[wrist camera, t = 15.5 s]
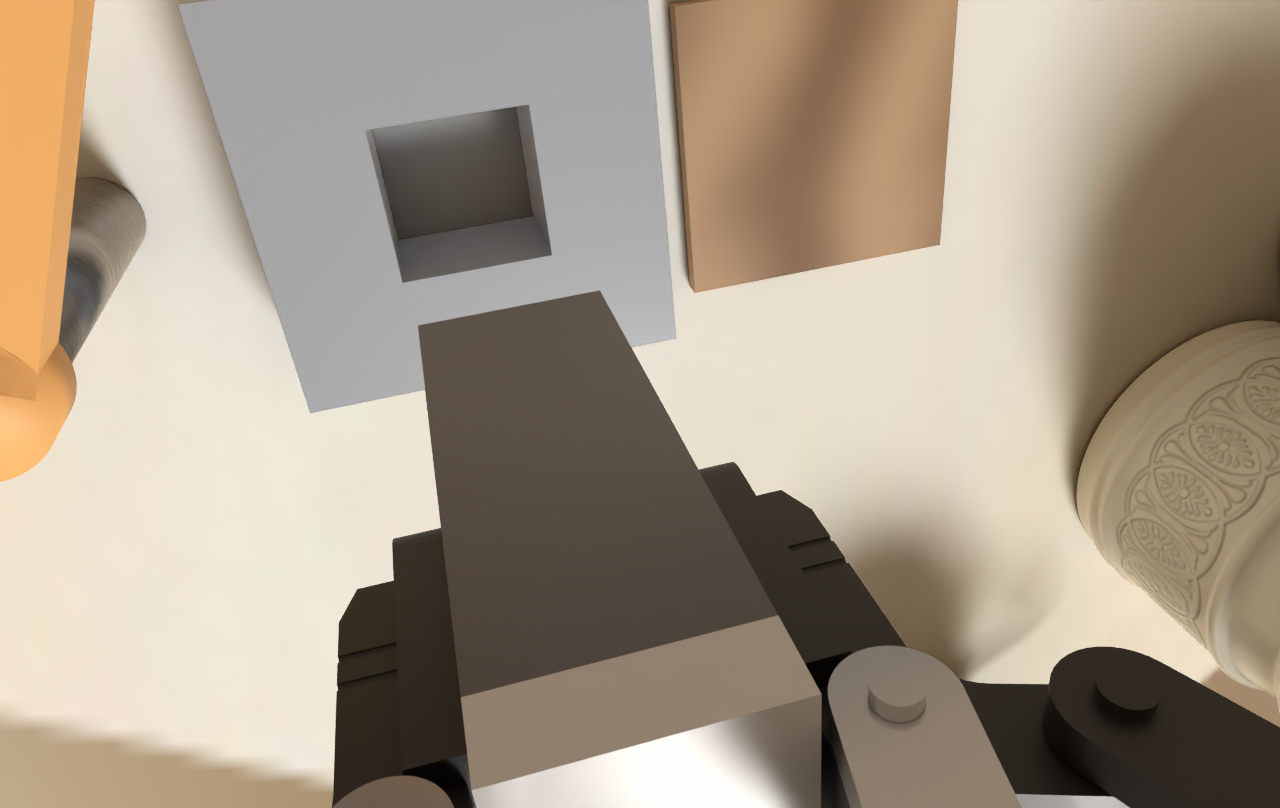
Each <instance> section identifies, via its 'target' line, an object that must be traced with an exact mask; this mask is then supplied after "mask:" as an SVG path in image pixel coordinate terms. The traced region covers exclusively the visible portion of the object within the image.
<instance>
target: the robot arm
mask: <svg viewBox="0 0 1280 808" xmlns="http://www.w3.org/2000/svg"><path fill="white" fill-rule="evenodd" d="M699 472H700V474H701V475H702V477H703V479H704V481H705V483H706V485H707V486H708V488H709V490H710V492H711V494H712V495H713V497H714V499H715V501H716V503H717V505H718V506H719V508H720V510H721V512H722V514H723V516H724V517H725V519H726V521H727V523H728V525H729V526H730V528H731V530H732V532H733V534H734V536H735V537H736V539H737V541H738V543H739V545H740V546H741V548H742V550H743V552H744V554H745V556H746V557H747V559H748V561H749V563H750V565H751V566H752V568H753V570H754V572H755V574H756V576H757V577H758V579H759V581H760V583H761V585H762V587H763V588H764V590H765V592H766V594H767V596H768V597H769V599H770V601H771V603H772V605H773V607H774V608H775V610H776V612H777V614H778V616H779V617H780V619H781V621H782V623H783V625H784V627H785V628H786V630H787V632H788V634H789V636H790V638H791V639H792V641H793V643H794V645H795V647H796V648H797V650H798V652H799V654H800V656H801V658H802V659H803V661H804V663H805V665H806V667H807V668H808V670H809V672H810V674H811V676H812V678H813V679H814V681H815V683H816V685H817V687H818V689H819V690H820V692H821V694H822V706H821V808H1280V727H1278V726H1276V725H1274V724H1272V723H1270V722H1269V721H1267V720H1265V719H1263V718H1262V717H1260V716H1257V715H1256V714H1254V713H1252V712H1251V711H1249V710H1247V709H1245V708H1243V707H1242V706H1239V705H1238V704H1236V703H1234V702H1232V701H1231V700H1229V699H1227V698H1225V697H1223V696H1221V695H1220V694H1218V693H1216V692H1214V691H1212V690H1211V689H1209V688H1207V687H1205V686H1203V685H1201V684H1200V683H1198V682H1196V681H1194V680H1192V679H1191V678H1189V677H1187V676H1185V675H1183V674H1181V673H1180V672H1178V671H1176V670H1174V669H1172V668H1171V667H1169V666H1167V665H1165V664H1163V663H1161V662H1159V661H1157V660H1155V659H1153V658H1151V657H1149V656H1146V655H1144V654H1141V653H1138V652H1135V651H1131V650H1127V649H1122V648H1115V647H1091V648H1085V649H1081V650H1077V651H1075V652H1073V653H1070V654H1068V655H1067V656H1065V657H1064V658H1062V659H1061V660H1060V661H1059V662H1058V663H1057V664H1056V666H1055V667H1054V669H1053V671H1052V673H1051V676H1050V682H1049V684H987V683H976V682H971V681H965V680H962V679H959V678H958V677H957V676H956V675H955V674H954V673H953V671H952V670H951V669H949V668H948V667H947V666H946V665H945V664H944V663H942V662H941V661H939V660H937V659H936V658H934V657H932V656H930V655H928V654H926V653H924V652H921V651H918V650H915V649H912V648H907V646H906V645H905V644H904V643H903V641H902V640H901V638H900V637H899V635H898V634H897V633H896V631H895V630H894V628H893V627H892V625H891V624H890V622H889V621H888V619H887V618H886V617H885V615H884V614H883V612H882V611H881V609H880V608H879V606H878V605H877V603H876V602H875V601H874V599H873V598H872V596H871V595H870V593H869V592H868V590H867V589H866V587H865V586H864V585H863V583H862V582H861V580H860V579H859V577H858V576H857V574H856V573H855V572H854V570H853V569H852V567H851V566H850V564H849V563H846V561H845V557H844V556H843V554H842V553H841V551H840V550H839V548H838V547H837V545H836V544H835V542H834V541H831V539H830V535H829V534H828V532H827V531H826V529H825V528H824V526H823V525H822V524H821V522H820V521H819V519H818V518H817V516H816V515H815V513H814V512H813V511H812V509H810V508H809V507H807V506H805V505H804V504H802V503H801V502H799V501H798V500H796V499H794V498H793V497H791V496H790V495H788V494H786V493H785V492H783V491H782V490H779V491H775V492H771V493H767V494H762V495H758V496H756V495H755V493H754V491H753V490H752V488H751V487H750V485H749V483H748V482H747V480H746V478H745V477H744V475H743V474H742V472H741V470H740V469H739V467H738V466H737V465H736V464H735V463H734V462H730V463H726V464H722V465H717V466H713V467H708V468H704V469H700V470H699ZM392 546H393V571H394V581H391V582H386V583H382V584H378V585H374V586H369V587H365V588H361V589H357V591H356V593H355V595H354V596H353V598H352V600H351V602H350V604H349V605H348V607H347V609H346V611H345V613H344V615H343V616H342V618H341V620H340V622H339V640H338V658H339V663H338V671H337V686H338V691H337V702H336V732H335V763H334V795H333V804H332V808H477V807H476V804H475V801H474V797H473V794H472V790H471V782H470V773H469V764H468V756H467V747H466V738H465V730H464V721H463V712H462V704H461V695H460V686H459V678H458V669H457V661H456V652H455V643H454V635H453V626H452V617H451V609H450V600H449V591H448V583H447V574H446V565H445V557H444V548H443V539H442V531H441V528H439V529H435V530H430V531H426V532H422V533H417V534H413V535H408V536H404V537H400V538H395V539H393V543H392Z"/></svg>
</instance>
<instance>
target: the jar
mask: <svg viewBox="0 0 1280 808" xmlns="http://www.w3.org/2000/svg"><path fill="white" fill-rule="evenodd" d="M1076 499H1077V509H1078V514H1079V518H1080V521H1081V523H1082V525H1083V528H1084V529H1085V531H1086V533H1087V534H1088V536H1089V537H1090V538H1091V539H1092V540H1093V542H1094V544H1095V546H1096V548H1097V550H1098V551H1099V553H1100V554H1101V556H1102V557H1103V558H1104V559H1105V560H1106V562H1108V563H1109V564H1110V565H1111V566H1112V567H1113V568H1115V570H1116V571H1117V572H1118V573H1119V574H1120V575H1121V576H1122V577H1123V578H1125V579H1126V580H1127V581H1129V582H1130V583H1132V584H1134V585H1136V586H1138V587H1140V588H1141V589H1142V590H1143V591H1144V592H1145V593H1147V594H1148V595H1149V596H1150V597H1151V598H1152V599H1153V600H1154V601H1155V602H1156V603H1157V604H1158V605H1159V606H1160V607H1162V608H1163V609H1164V610H1165V611H1166V612H1167V613H1168V614H1169V615H1170V616H1171V617H1172V618H1173V619H1174V620H1175V621H1177V622H1178V623H1179V624H1180V625H1181V626H1182V627H1183V628H1184V629H1185V630H1186V631H1187V632H1188V633H1189V634H1190V635H1191V636H1193V637H1194V638H1195V639H1196V640H1197V641H1198V642H1199V643H1200V644H1201V645H1202V646H1203V647H1204V648H1205V649H1206V650H1208V651H1209V652H1210V653H1211V654H1212V656H1213V658H1214V660H1215V661H1216V663H1217V665H1218V666H1219V667H1220V668H1221V670H1222V671H1223V672H1224V673H1226V674H1227V675H1228V676H1229V677H1230V678H1232V679H1233V680H1235V681H1237V682H1239V683H1241V684H1243V685H1245V686H1248V687H1251V688H1255V689H1260V690H1263V691H1264V692H1265V693H1267V694H1268V695H1269V696H1270V697H1272V698H1273V699H1274V700H1275V701H1277V702H1278V707H1279V712H1280V323H1279V322H1274V321H1264V320H1255V321H1244V322H1238V323H1233V324H1229V325H1225V326H1222V327H1219V328H1216V329H1213V330H1211V331H1208V332H1205V333H1203V334H1201V335H1199V336H1197V337H1195V338H1193V339H1191V340H1189V341H1187V342H1185V343H1183V344H1182V345H1180V346H1178V347H1177V348H1175V349H1173V350H1172V351H1170V352H1169V353H1168V354H1166V355H1165V356H1163V357H1162V358H1161V359H1159V360H1158V361H1157V362H1155V363H1154V364H1153V365H1152V366H1150V367H1149V368H1148V369H1147V370H1146V371H1144V372H1143V373H1142V374H1141V375H1140V376H1139V377H1138V378H1137V379H1136V380H1135V381H1134V382H1133V383H1132V384H1131V385H1130V386H1129V387H1128V388H1127V389H1126V390H1125V391H1124V392H1123V393H1122V395H1121V396H1120V397H1119V398H1118V399H1117V401H1116V402H1115V403H1114V404H1113V406H1112V407H1111V408H1110V410H1109V411H1108V412H1107V414H1106V415H1105V417H1104V418H1103V420H1102V421H1101V423H1100V425H1099V426H1098V428H1097V430H1096V432H1095V433H1094V435H1093V437H1092V439H1091V441H1090V443H1089V445H1088V448H1087V450H1086V453H1085V455H1084V458H1083V461H1082V464H1081V468H1080V472H1079V476H1078V482H1077V492H1076Z"/></svg>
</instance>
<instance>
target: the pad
mask: <svg viewBox="0 0 1280 808" xmlns="http://www.w3.org/2000/svg"><path fill="white" fill-rule="evenodd" d="M957 7H958V0H690V1H683V2H676V3H669V9H670V22H671V36H672V50H673V63H674V77H675V91H676V104H677V118H678V131H679V145H680V159H681V172H682V186H683V200H684V213H685V227H686V241H687V254H688V268H689V281H690V287H691V288H692V289H693V291H694V292H695V293H697V292H702V291H707V290H712V289H717V288H722V287H727V286H732V285H737V284H742V283H747V282H753V281H758V280H763V279H768V278H773V277H778V276H783V275H788V274H793V273H798V272H803V271H808V270H814V269H819V268H824V267H829V266H834V265H839V264H844V263H849V262H854V261H859V260H864V259H869V258H875V257H880V256H885V255H890V254H895V253H900V252H905V251H910V250H915V249H920V248H925V247H930V246H935V245H940V235H941V222H942V208H943V195H944V181H945V168H946V155H947V141H948V128H949V114H950V101H951V88H952V74H953V61H954V47H955V34H956V21H957Z"/></svg>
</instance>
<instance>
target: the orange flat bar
mask: <svg viewBox="0 0 1280 808" xmlns="http://www.w3.org/2000/svg"><path fill="white" fill-rule="evenodd" d="M94 1H95V0H0V482H2V481H5V480H8V479H11V478H14V477H17V476H19V475H21V474H23V473H25V472H27V471H28V470H30V469H31V468H33V467H34V466H35V465H36V464H38V463H39V462H40V461H41V460H42V459H43V458H44V457H45V455H46V454H47V453H48V451H49V450H50V448H51V446H52V445H53V443H54V441H55V439H56V437H57V435H58V433H59V431H60V430H61V428H62V426H63V424H64V422H65V420H66V418H67V416H68V414H69V413H70V411H71V409H72V406H73V404H74V401H75V396H76V376H75V372H74V369H73V365H72V363H71V361H70V359H69V357H68V355H67V353H66V352H65V350H64V349H63V347H62V346H61V345H60V344H59V333H60V324H61V314H62V305H63V295H64V286H65V276H66V267H67V257H68V248H69V238H70V229H71V219H72V210H73V200H74V191H75V181H76V172H77V162H78V153H79V143H80V134H81V124H82V115H83V105H84V96H85V86H86V77H87V68H88V58H89V49H90V39H91V30H92V20H93V11H94Z"/></svg>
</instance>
